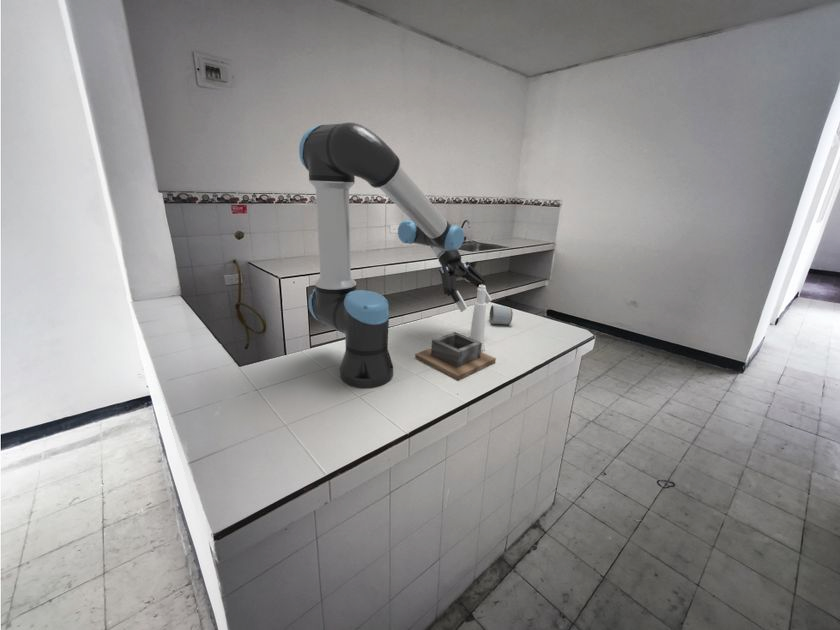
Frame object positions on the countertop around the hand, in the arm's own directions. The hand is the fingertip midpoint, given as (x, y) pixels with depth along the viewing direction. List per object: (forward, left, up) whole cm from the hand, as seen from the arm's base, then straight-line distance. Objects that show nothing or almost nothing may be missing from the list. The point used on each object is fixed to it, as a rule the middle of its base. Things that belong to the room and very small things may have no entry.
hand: (477, 305), depth 124 cm
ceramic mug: (+26, +8, -15) cm, 31 cm away
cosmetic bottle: (-1, -2, -14) cm, 15 cm away
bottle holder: (-14, -4, -14) cm, 21 cm away
